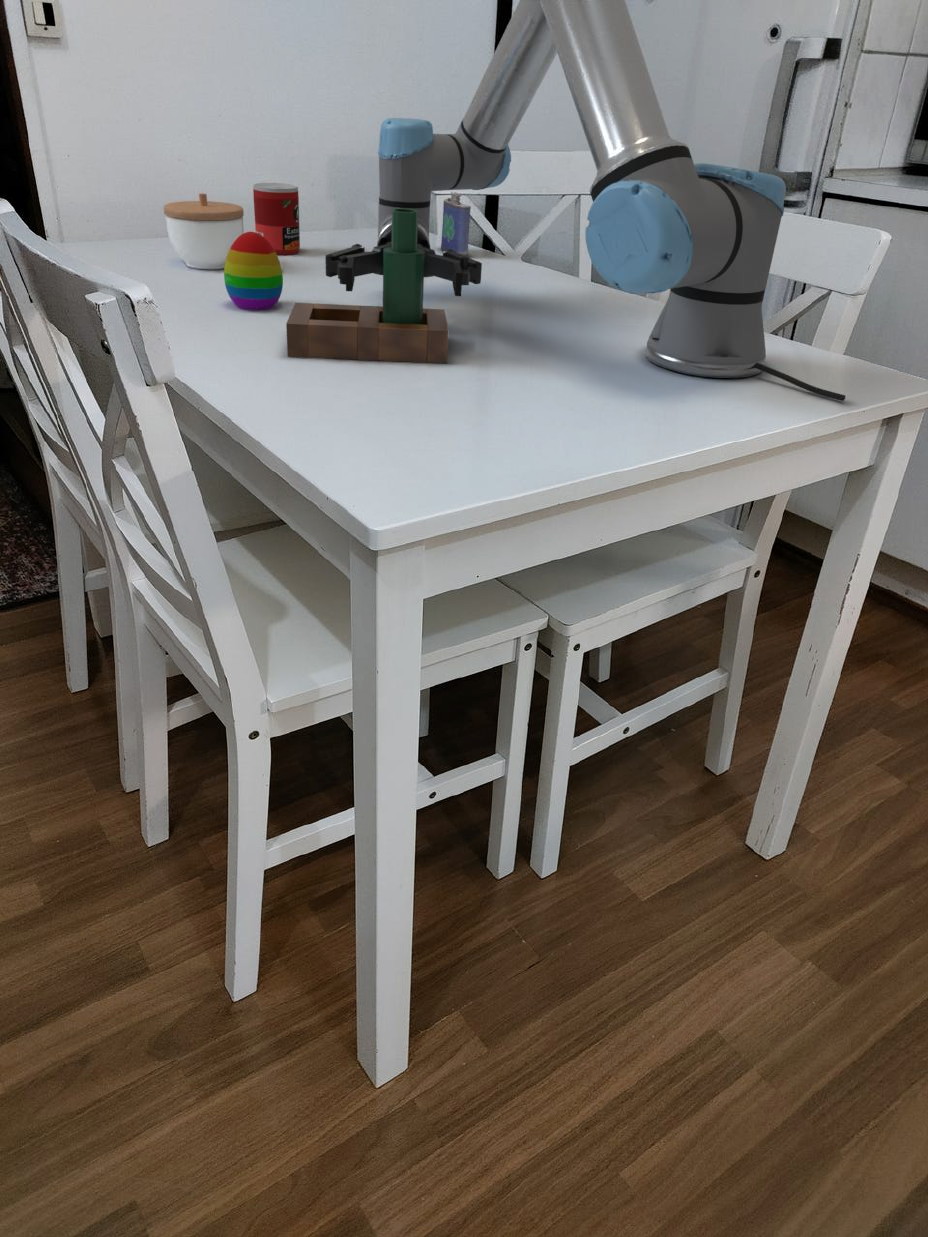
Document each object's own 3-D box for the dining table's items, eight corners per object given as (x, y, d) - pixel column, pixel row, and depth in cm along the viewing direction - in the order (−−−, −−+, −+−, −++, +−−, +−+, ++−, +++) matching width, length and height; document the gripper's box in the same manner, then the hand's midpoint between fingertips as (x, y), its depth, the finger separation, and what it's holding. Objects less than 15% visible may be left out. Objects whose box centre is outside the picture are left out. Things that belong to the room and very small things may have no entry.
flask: (470, 257, 176) (473, 195, 171) (456, 257, 175) (459, 195, 170) (450, 248, 183) (452, 188, 178) (436, 248, 182) (438, 188, 177)
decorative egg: (225, 312, 131) (220, 236, 125) (226, 298, 137) (221, 225, 132) (285, 312, 132) (281, 237, 127) (283, 299, 139) (280, 227, 134)
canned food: (291, 256, 167) (289, 189, 161) (249, 252, 168) (245, 185, 162) (306, 249, 173) (304, 185, 168) (265, 245, 175) (262, 181, 169)
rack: (443, 339, 125) (444, 309, 123) (446, 363, 115) (448, 330, 113) (296, 333, 123) (295, 302, 121) (287, 356, 114) (286, 323, 112)
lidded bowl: (230, 275, 151) (225, 201, 145) (156, 268, 152) (148, 195, 146) (257, 261, 161) (253, 192, 156) (187, 255, 163) (181, 186, 157)
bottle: (429, 350, 120) (434, 211, 111) (401, 356, 117) (405, 214, 108) (401, 341, 123) (405, 206, 114) (374, 347, 119) (375, 208, 111)
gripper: (489, 281, 133) (503, 318, 115) (315, 273, 131) (301, 309, 113) (493, 225, 129) (508, 254, 111) (314, 216, 127) (299, 243, 109)
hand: (404, 282), depth 112 cm, fingers open, 12 cm apart
